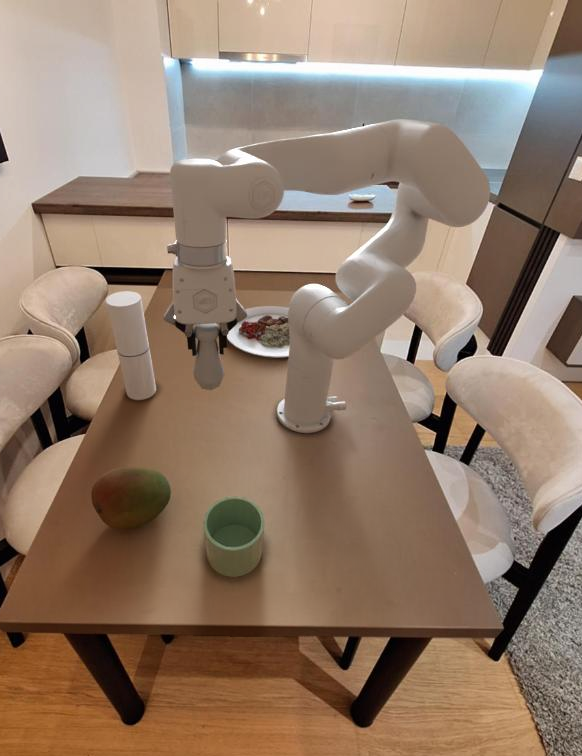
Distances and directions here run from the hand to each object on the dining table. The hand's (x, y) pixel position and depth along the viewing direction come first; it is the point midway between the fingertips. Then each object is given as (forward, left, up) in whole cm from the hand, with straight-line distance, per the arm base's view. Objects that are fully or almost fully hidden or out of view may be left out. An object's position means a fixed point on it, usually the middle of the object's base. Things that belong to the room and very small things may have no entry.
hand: (207, 350), depth 72 cm
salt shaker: (0, 0, -8) cm, 8 cm away
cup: (-2, +26, -23) cm, 35 cm away
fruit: (+15, +16, -23) cm, 32 cm away
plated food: (-22, -42, -23) cm, 53 cm away
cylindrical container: (+16, -19, -23) cm, 35 cm away
